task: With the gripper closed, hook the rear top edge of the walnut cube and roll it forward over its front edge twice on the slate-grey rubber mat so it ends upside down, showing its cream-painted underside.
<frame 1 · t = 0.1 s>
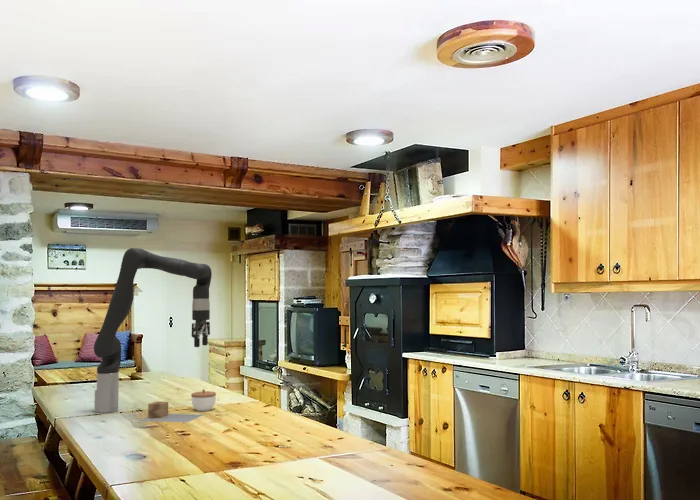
hand: (200, 346, 287), 29 cm above the table, fingers open, 8 cm apart
mat: (171, 418, 275), on the table
lidded jar: (203, 411, 293), on the table
walnut cube: (158, 417, 276), resting on mat
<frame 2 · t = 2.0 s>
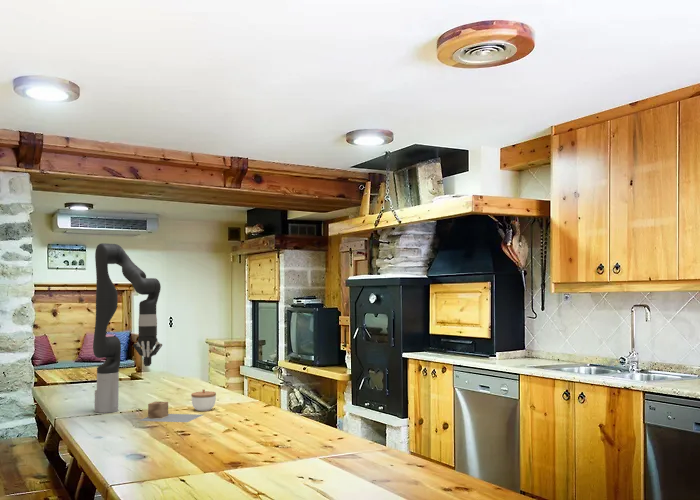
hand: (147, 365, 279), 22 cm above the table, fingers closed
nothing on the table moved.
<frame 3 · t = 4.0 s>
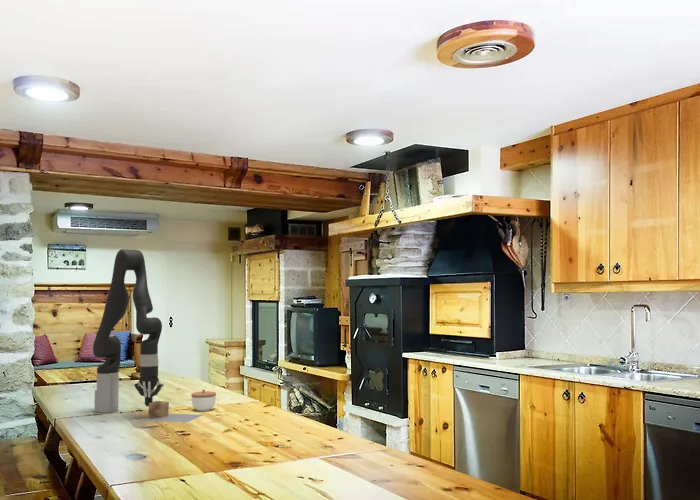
hand: (148, 406, 277), 5 cm above the table, fingers closed
walnut cube: (158, 416, 276), point 1 cm above the table, touching gripper, mat
everything else where it was.
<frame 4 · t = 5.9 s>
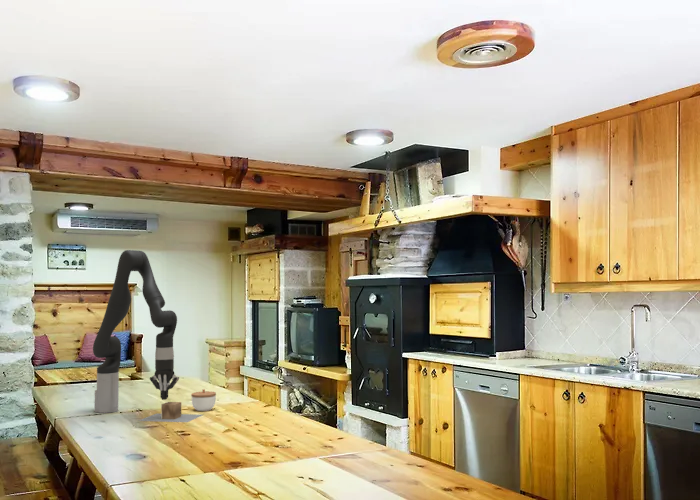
hand: (164, 399, 276), 8 cm above the table, fingers closed
walnut cube: (164, 410, 276), point 3 cm above the table, tilted 90°, touching mat
everything else where it was.
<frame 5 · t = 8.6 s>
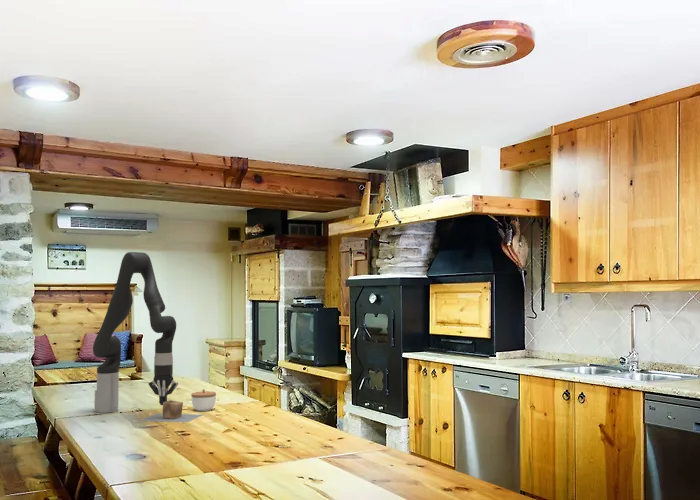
hand: (163, 404, 276), 6 cm above the table, fingers closed
walnut cube: (165, 408, 276), point 4 cm above the table, tilted 97°, touching gripper, mat
everything else where it was.
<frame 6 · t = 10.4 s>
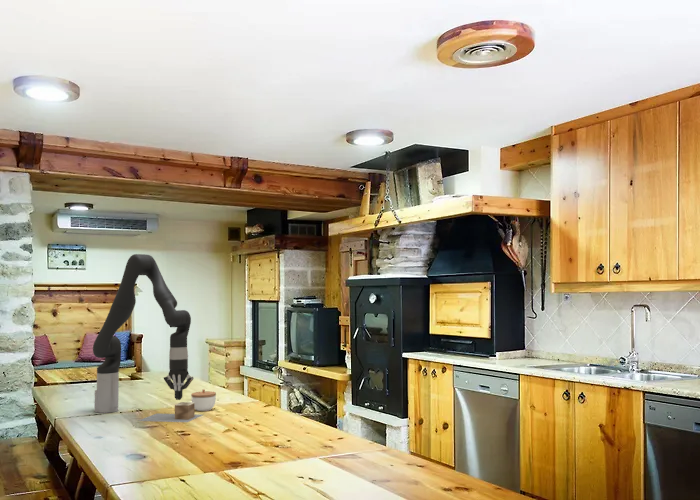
hand: (178, 399, 275), 8 cm above the table, fingers closed
walnut cube: (184, 403, 274), point 6 cm above the table, tilted 180°, touching mat
everything else where it was.
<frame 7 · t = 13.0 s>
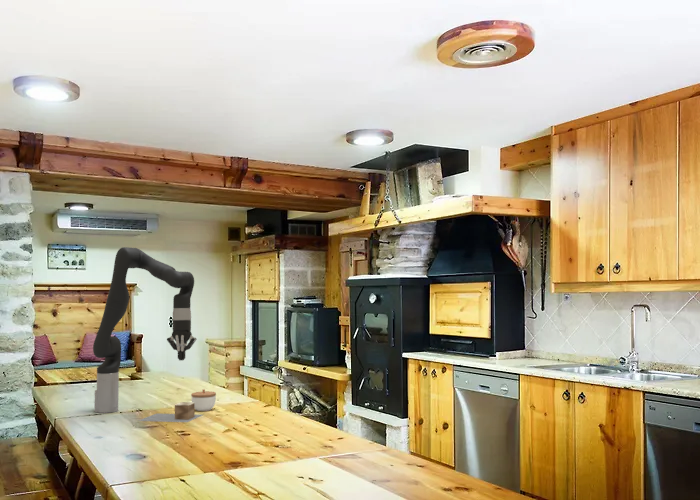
hand: (181, 360, 276), 24 cm above the table, fingers closed
nothing on the table moved.
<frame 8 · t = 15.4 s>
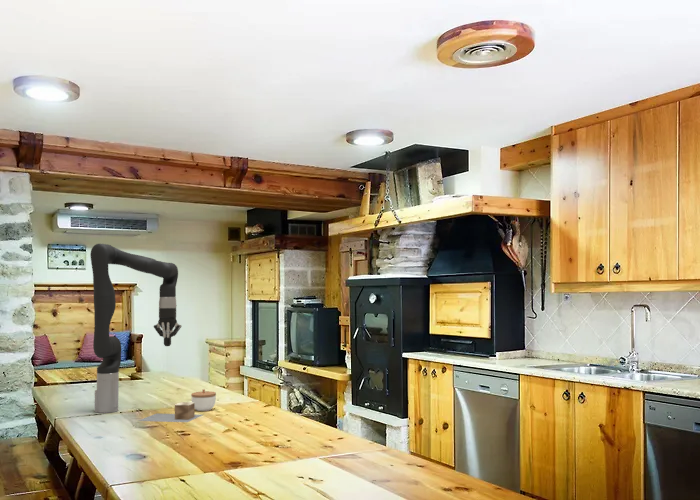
hand: (167, 346, 292), 29 cm above the table, fingers closed
nothing on the table moved.
at the end: walnut cube tilted 180°; walnut cube inside the target area on the mat (0.5 cm from its centre), point 6.4 cm above the mat's base; walnut cube touching mat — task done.
